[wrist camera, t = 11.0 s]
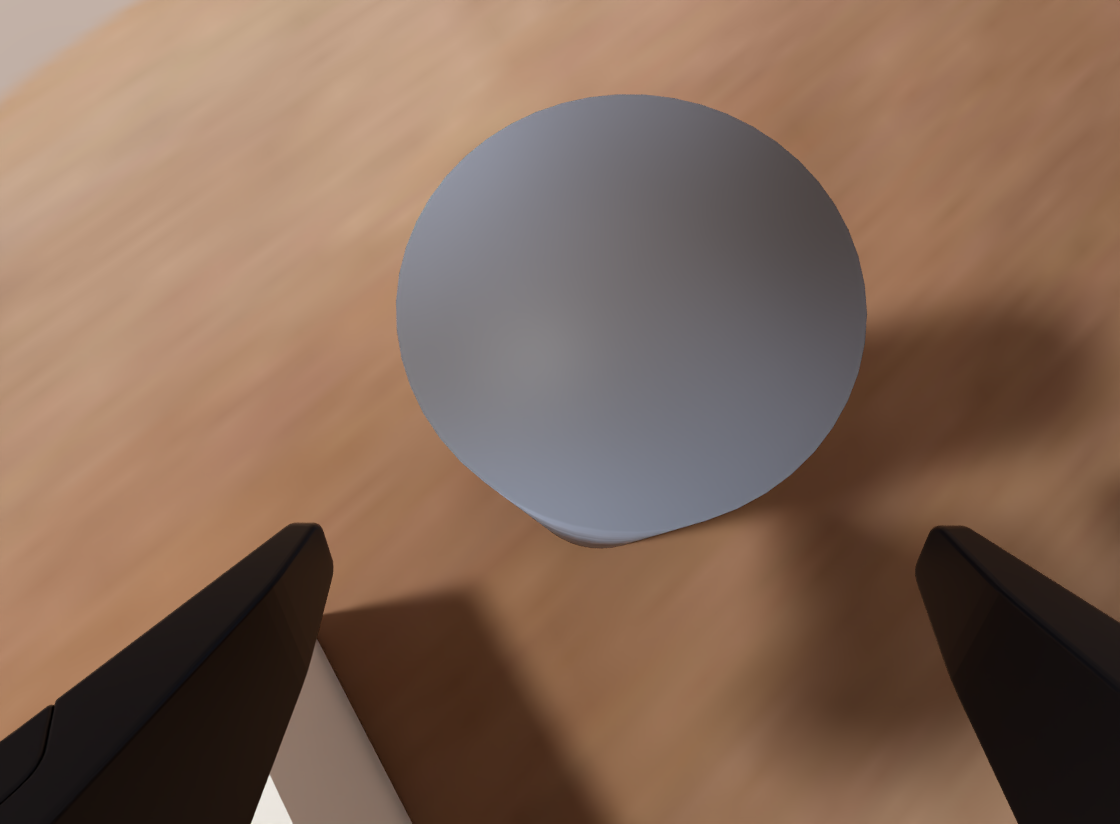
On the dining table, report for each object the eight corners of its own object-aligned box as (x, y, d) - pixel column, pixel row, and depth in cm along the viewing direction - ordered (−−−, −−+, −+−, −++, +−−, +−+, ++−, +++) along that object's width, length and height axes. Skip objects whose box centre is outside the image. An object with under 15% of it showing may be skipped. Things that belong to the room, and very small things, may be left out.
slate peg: (710, 493, 19) (968, 363, 6) (572, 579, 18) (548, 632, 6) (623, 362, 20) (690, 25, 7) (491, 441, 19) (319, 228, 7)
